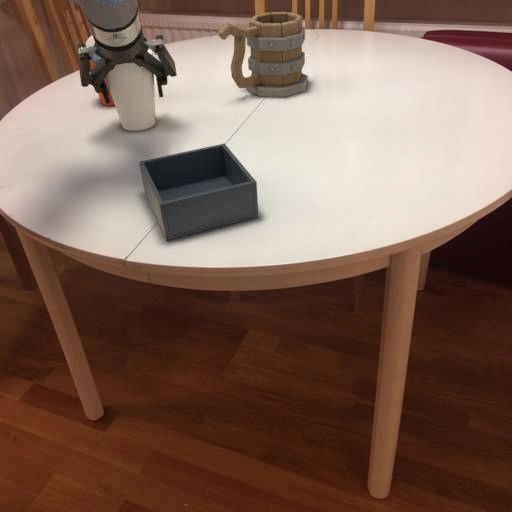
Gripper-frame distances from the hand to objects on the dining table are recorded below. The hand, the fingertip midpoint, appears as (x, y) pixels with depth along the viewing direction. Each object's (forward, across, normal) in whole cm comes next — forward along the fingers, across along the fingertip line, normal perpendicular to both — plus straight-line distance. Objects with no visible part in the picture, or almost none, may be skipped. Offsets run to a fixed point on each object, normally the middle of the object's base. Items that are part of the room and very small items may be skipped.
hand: (133, 93), depth 101 cm
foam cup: (+1, 0, -6) cm, 6 cm away
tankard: (+8, +27, +1) cm, 28 cm away
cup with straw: (+12, -5, +4) cm, 13 cm away
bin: (-22, +8, -29) cm, 37 cm away
